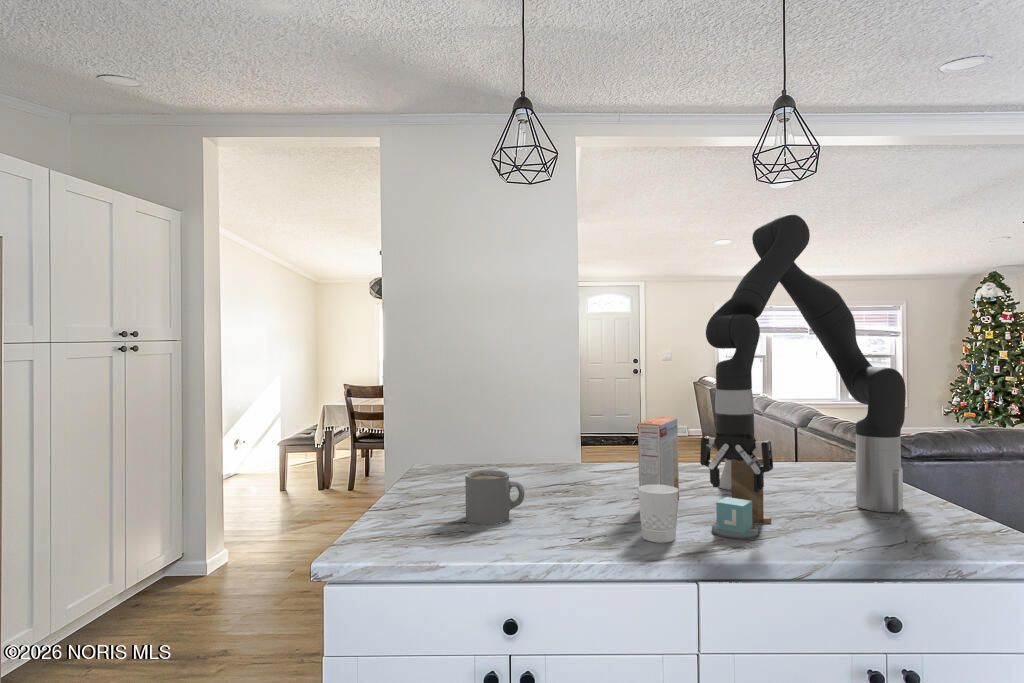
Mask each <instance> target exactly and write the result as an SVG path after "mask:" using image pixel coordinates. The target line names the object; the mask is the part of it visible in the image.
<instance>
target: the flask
mask: <svg viewBox="0 0 1024 683" xmlns="http://www.w3.org/2000/svg"><path fill="white" fill-rule="evenodd" d="M723 466H724V467H723V469H722V472H721V475H720V486H719V487H718V488H720V489H722V490H727V491H728V490H730V491H731V460H727V459H726V458H725V462H724V465H723Z"/></svg>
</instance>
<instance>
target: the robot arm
mask: <svg viewBox="0 0 1024 683" xmlns="http://www.w3.org/2000/svg"><path fill="white" fill-rule="evenodd" d="M810 235H811V234H810V228H809V226H808V224H807V222H806V221H805V220H804V219H803V218H802V217H801V216H800V215H798V214H796V213H795V214H793V213H788V214H785V215H782V216H779V217H778V218H775V219H773V220H772V221H770V222H767V223H765V224H763V225H761V226H759V227H757V228H756V229H755V230H754V231H753V233H752V245H753V247H754V250H755V252H756V254H757V255H758V257H759V258H760V260H758V261H757V262H756V263H755V264H754V266H752V268H751V269H750V270H749V271H748V272H747V273H746V274H745V275H744V276H743V277H742V278H741V280H740V281H739V283H738V285H737V286H736V289H735V290H734V292H733V294H732V296H731V297H730V299H729V300H727V301H726V302H725V303H724V304H723V305H721V306H720V308H718V309H717V310H716V311H715V312H714V313H713V314H712V315H711V317H710V318H709V320H708V322H707V324H706V328H705V338H706V340H707V342H708V344H709V345H710V346H711V347H713V348H715V349H722V350H723V349H724V350H725V349H735V350H734V353H733V356H732V358H730V359H725V360H721V361H718V362H717V363H716V365H715V366H716V367H715V387H716V389H715V401H714V402H715V404H714V410H715V435H716V436H715V437H711V436H709V435H707V436H704V437H702V438H701V439H700V460H699V462H700V465H702V466H704V467H705V466H706V467H707V468H708V469H709V482H710V484H711V485H712V487H713V488H719V486H720V478H721V475H720V474H721V473H720V467H719V466H720V465H721V463H722V462H723V461H724V460H726V459H727V460H733V459H734V460H737V461H743V460H745V461H746V463H747V464H748V465H749V466H750V467H751V468H752V469H753V471H754V472H755V474H754V492H760V491H761V489H763V490H764V487H765V485H764V484H765V479H764V478H765V477H764V476H765V475H764V474H765V473H769V472H770V471H772V470H774V462H773V449H772V448H773V447H772V442H771V440H770V439H769V440H764V441H759V440H758V441H757V440H756V438H755V416H754V415H755V410H754V409H755V408H754V407H755V406H754V403H755V402H754V395H753V380H752V376H753V375H752V370H753V364H754V360H755V356H756V352H757V351H756V350H757V348H758V345H759V341H760V336H761V328H760V325H759V322H758V320H757V319H758V318H759V317H760V316H761V315H762V313H763V312H764V309H765V308H766V307H767V304H768V302H769V300H770V298H771V296H772V294H773V292H774V291H775V289H776V288H777V286H778V284H779V283H780V284H781V286H782V287H783V288H784V290H785V292H786V293H787V295H788V296H789V297H790V298H791V300H792V302H793V303H794V304H795V306H796V307H797V308H798V311H799V312H800V314H801V315H802V317H803V319H804V320H805V322H806V323H807V325H808V327H809V328H810V329H811V330H812V333H813V334H814V335H815V336H816V338H817V339H818V340H819V342H820V344H821V345H822V347H823V349H824V350H825V352H826V353H827V354H828V356H829V358H830V359H831V361H832V362H833V364H834V366H835V368H836V370H837V372H838V374H839V376H840V377H841V379H842V380H841V381H842V382H843V384H844V385H845V387H846V389H847V392H848V393H849V395H850V396H851V397H852V398H853V399H854V400H855V401H856V402H858V403H860V404H862V405H867V414H866V416H865V417H864V418H862V419H861V420H858V421H857V422H856V423H855V492H856V493H855V500H856V501H855V503H856V506H857V507H858V508H859V509H864V510H867V511H871V512H873V511H874V512H881V513H895V514H896V513H898V514H899V513H901V511H902V509H903V508H904V494H903V493H904V489H903V488H904V487H903V486H904V484H903V477H904V476H903V467H902V465H901V464H902V459H901V458H902V455H901V454H902V450H901V448H902V447H901V433H902V432H901V431H902V427H903V425H904V423H905V418H906V416H905V415H906V395H907V394H906V384H905V380H904V378H903V375H902V374H901V373H900V372H899V371H898V370H897V369H895V368H893V367H885V366H873V365H872V364H871V363H870V361H869V360H868V359H867V358H866V357H865V355H864V353H863V352H862V350H861V349H860V347H859V344H858V341H857V333H856V330H857V329H856V323H855V318H854V314H853V313H852V311H851V310H850V308H849V307H848V306H847V304H846V302H845V300H844V299H843V298H842V296H841V294H840V293H839V292H838V291H837V290H835V288H833V287H831V286H830V285H828V284H826V283H825V282H823V281H821V280H818V279H817V278H815V277H813V276H811V275H810V274H809V273H806V272H805V270H804V271H803V270H802V268H800V266H798V265H797V263H796V262H795V261H796V259H797V258H798V257H799V256H800V255H801V254H802V253H803V251H804V250H805V249H806V247H807V246H808V245H809V243H810V242H809V241H810V238H811V236H810ZM714 445H715V447H716V448H717V450H718V452H717V453H716V454H715V455H714V456H713V459H711V451H712V450H711V448H712V447H714ZM756 448H758V451H759V453H761V457H762V458H761V459H763V466H762V465H761V464H760V462H759V461H758V458H759V457H758V456H756V454H755V452H754V451H755V450H756ZM757 457H758V458H757ZM747 458H748V459H747Z"/></svg>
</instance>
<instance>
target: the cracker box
mask: <svg viewBox="0 0 1024 683" xmlns="http://www.w3.org/2000/svg"><path fill="white" fill-rule="evenodd" d="M678 427H679V426H678V417H669V416H655V417H652V418H649V419H648V420H645V421H642V422H639V423H638V424H637V438H638V439H637V442H638V443H637V444H638V445H637V446H638V447H637V448H638V483H639V486H638V488H639V487H640V486H644V485H668V486H672V487H675V488H677V489H678V502H679V501H680V480H679V479H680V476H679V474H680V473H679V437H678V436H679V435H678V434H679V431H678V430H679V429H678Z"/></svg>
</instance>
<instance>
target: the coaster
mask: <svg viewBox="0 0 1024 683" xmlns="http://www.w3.org/2000/svg"><path fill="white" fill-rule="evenodd" d="M711 532H712V534H714V535H715V536H718V537H721V538H725V539H729V540H751V539H754V538H755V539H756V538H757V537H758V536H759V529H758V528H757V527H756V526H754V525H752V528H750V529H749V530H748V531H746V532H745V533H744V534H743V533H738V532H732V531H727V530H721V529H717V522H716V523H713V524H712V525H711Z"/></svg>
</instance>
